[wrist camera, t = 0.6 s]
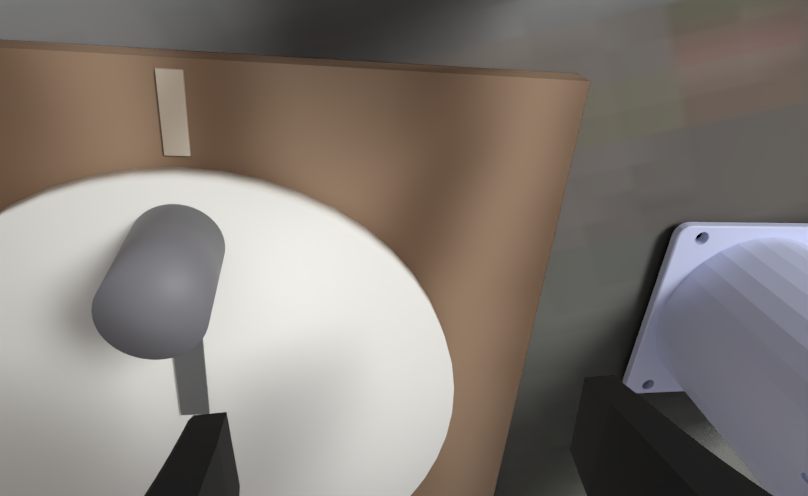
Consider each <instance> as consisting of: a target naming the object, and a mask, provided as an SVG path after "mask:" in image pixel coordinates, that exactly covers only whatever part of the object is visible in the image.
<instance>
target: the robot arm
mask: <svg viewBox="0 0 808 496" xmlns="http://www.w3.org/2000/svg"><path fill="white" fill-rule="evenodd" d="M700 233H702V235H701V236H700V237H699V238H698V239H695V238H696V237H697V235H699V234H700ZM647 380H648V381H647ZM644 382H645V383H644ZM677 391H685V392H686V394H687V395H688V396H689V397H690V398H691V400H692V401H693V402H694V403H695V405H696V406H697V407H698V408H699V409H700V411H701V412H702V413H703V414H704V416H705V417H706V418H707V419H708V420H709V422H710V423H711V424H712V425H713V427H714V428H715V429H716V430H717V431H718V433H719V434H720V435H721V436H722V438H723V439H724V440H725V441H726V442H727V444H728V445H729V446H730V447H731V449H732V450H733V451H734V452H735V453H736V455H737V456H738V457H739V458H740V460H741V461H742V462H743V463H744V464H745V466H746V467H747V468H748V469H749V471H750V472H751V473H752V474H753V475H754V477H755V478H756V479H757V480H758V482H759V483H760V484H761V485H762V486H763V488H764V489H765V490H766V491H765V490H764V489H762V488H761V487H759V486H758V485H756V484H755V483H753V482H752V481H751V480H749V479H748V478H746V477H745V476H743V475H742V474H741V473H739V472H738V471H736V470H735V469H733V468H732V467H731V466H729V465H728V464H726V463H725V462H724V461H722V460H721V459H720V458H718V457H717V456H715V455H714V454H713V453H711V452H710V451H709V450H707V449H706V448H705V447H703V446H702V445H701V444H699V443H698V442H697V441H696V440H694V439H693V438H692V437H690V436H689V435H688V434H686V433H685V432H684V431H683V430H681V429H680V428H679V427H678V426H676V425H675V424H674V423H672V422H671V421H670V420H669V419H667V418H666V417H665V416H664V415H662V414H661V413H660V412H659V411H657V410H656V409H655V408H654V407H652V406H651V405H650V404H649V403H647V402H646V401H645V400H644V399H643V398H641V397H640V396H639V395H638V394H636V393H654V392H677ZM570 449H571V452H572V455H573V458H574V461H575V464H576V466H577V469H578V472H579V475H580V478H581V480H582V483H583V485H584V488H585V491H586V493H587V496H808V223H732V222H686V223H682V224H681V225H679V226H678V227H677V228H676V229H675V230H674V232H673V234H672V236H671V239H670V242H669V245H668V248H667V251H666V254H665V257H664V260H663V263H662V266H661V269H660V272H659V275H658V277H657V280H656V283H655V286H654V289H653V292H652V295H651V298H650V301H649V304H648V307H647V310H646V313H645V316H644V319H643V322H642V325H641V328H640V330H639V333H638V336H637V339H636V342H635V345H634V348H633V351H632V354H631V357H630V360H629V363H628V366H627V369H626V372H625V375H624V378H623V382H621V381H620V380H618V379H617V378H616V377H615V376H613V375H610V376H599V377H589V378H585V380H584V385H583V390H582V394H581V399H580V404H579V409H578V414H577V419H576V424H575V428H574V433H573V438H572V443H571V448H570ZM239 492H240V484H239V478H238V473H237V467H236V462H235V456H234V450H233V445H232V439H231V434H230V428H229V423H228V417H227V412H222V413H212V414H201V415H193V416H192V417H191V418H190V419H189V420H188V422H187V424H186V426H185V428H184V430H183V431H182V433H181V435H180V437H179V439H178V440H177V442H176V444H175V446H174V448H173V449H172V451H171V453H170V455H169V456H168V458H167V460H166V461H165V463H164V465H163V466H162V468H161V470H160V471H159V473H158V475H157V476H156V478H155V480H154V481H153V483H152V484H151V486H150V487H149V489H148V490H147V492H146V494H145V495H144V496H239Z"/></svg>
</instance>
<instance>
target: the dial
mask: <svg viewBox="0 0 808 496" xmlns="http://www.w3.org/2000/svg"><path fill="white" fill-rule="evenodd" d="M453 396H454V382H453V370H452V362H451V358H450V354H449V351H448V347H447V343H446V339H445V336H444V333H443V330H442V328H441V325H440V322H439V319H438V317H437V315H436V313H435V311H434V308H433V306H432V304H431V302H430V299H429V297H428V295H427V294H426V292H425V291H424V289H423V288H422V286H421V285H420V283H419V282H418V280H417V279H416V277H415V276H414V274H413V273H412V271H411V270H410V269H409V268H408V267H407V266H406V265H405V264H404V262H403V261H402V260H401V259H400V258H399V257H398V256H397V255H396V254H395V252H394V251H393V250H392V249H391V248H390V247H389V246H387V245H386V244H385V243H384V242H383V241H381V240H380V239H379V238H378V237H377V236H375V235H374V234H373V233H372V232H371V231H369V230H368V229H367V228H366V227H364V226H363V225H361V224H360V223H358V222H357V221H355V220H353V219H352V218H350V217H349V216H347V215H345V214H344V213H342V212H341V211H339V210H338V209H336V208H334V207H332V206H330V205H328V204H326V203H324V202H321V201H319V200H317V199H315V198H313V197H311V196H309V195H307V194H304V193H302V192H300V191H297V190H294V189H291V188H288V187H285V186H282V185H279V184H276V183H273V182H270V181H267V180H264V179H260V178H255V177H250V176H245V175H240V174H235V173H230V172H225V171H219V170H207V169H196V168H184V167H163V168H134V169H127V170H121V171H114V172H108V173H101V174H95V175H90V176H86V177H83V178H79V179H76V180H72V181H69V182H65V183H62V184H58V185H55V186H51V187H49V188H47V189H44V190H42V191H40V192H37V193H35V194H33V195H31V196H28V197H26V198H24V199H21V200H19V201H17V202H15V203H13V204H11V205H9V206H8V207H6V208H5V209H3V210H1V211H0V496H144V495H145V494H146V492H147V490H148V489H149V487H150V486H151V484H152V483H153V481H154V480H155V478H156V476H157V475H158V473H159V471H160V470H161V468H162V466H163V465H164V463H165V461H166V460H167V458H168V456H169V455H170V453H171V451H172V449H173V448H174V446H175V444H176V442H177V440H178V439H179V437H180V435H181V433H182V431H183V430H184V428H185V426H186V424H187V422H188V420H189V419H190V418H191V417H192V416H193V415H201V414H212V413H222V412H227V417H228V423H229V428H230V434H231V439H232V445H233V450H234V456H235V462H236V467H237V473H238V478H239V484H240V492H239V496H411V495H412V493H413V492H414V491H415V490H416V488H417V487H418V486H419V485H420V484H421V482H422V481H423V480H424V478H425V477H426V475H427V474H428V472H429V470H430V469H431V467H432V465H433V464H434V462H435V460H436V459H437V457H438V454H439V452H440V450H441V447H442V445H443V443H444V440H445V438H446V435H447V431H448V427H449V423H450V419H451V415H452V408H453Z"/></svg>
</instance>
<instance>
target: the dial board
mask: <svg viewBox="0 0 808 496" xmlns="http://www.w3.org/2000/svg"><path fill="white" fill-rule="evenodd" d="M589 86H590V81H589V80H587V79H586V78H584V77H582V76H580V75H578V74H573V73H556V72H539V71H522V70H505V69H488V68H471V67H454V66H437V65H420V64H403V63H386V62H370V61H353V60H336V59H319V58H302V57H285V56H268V55H251V54H234V53H217V52H200V51H183V50H167V49H150V48H133V47H116V46H99V45H82V44H65V43H48V42H31V41H14V40H0V211H1V210H3V209H5V208H6V207H8V206H9V205H11V204H13V203H15V202H17V201H19V200H21V199H24V198H26V197H28V196H31V195H33V194H35V193H37V192H40V191H42V190H44V189H47V188H49V187H51V186H55V185H58V184H62V183H65V182H69V181H72V180H76V179H79V178H83V177H86V176H90V175H95V174H101V173H108V172H114V171H121V170H127V169H134V168H163V167H184V168H196V169H207V170H219V171H225V172H230V173H235V174H240V175H245V176H250V177H255V178H260V179H264V180H267V181H270V182H273V183H276V184H279V185H282V186H285V187H288V188H291V189H294V190H297V191H300V192H302V193H304V194H307V195H309V196H311V197H313V198H315V199H317V200H319V201H321V202H324V203H326V204H328V205H330V206H332V207H334V208H336V209H338V210H339V211H341V212H342V213H344V214H345V215H347V216H349V217H350V218H352V219H353V220H355V221H357V222H358V223H360V224H361V225H363V226H364V227H366V228H367V229H368V230H369V231H371V232H372V233H373V234H374V235H375V236H377V237H378V238H379V239H380V240H381V241H383V242H384V243H385V244H386V245H387V246H389V247H390V248H391V249H392V250H393V251H394V252H395V254H396V255H397V256H398V257H399V258H400V259H401V260H402V261H403V262H404V264H405V265H406V266H407V267H408V268H409V269H410V270H411V271H412V273H413V274H414V276H415V277H416V279H417V280H418V282H419V283H420V285H421V286H422V288H423V289H424V291H425V292H426V294H427V295H428V297H429V299H430V302H431V304H432V306H433V308H434V311H435V313H436V315H437V317H438V319H439V322H440V325H441V328H442V330H443V333H444V336H445V339H446V343H447V347H448V351H449V354H450V358H451V362H452V370H453V382H454V396H453V408H452V415H451V419H450V423H449V427H448V431H447V435H446V438H445V440H444V443H443V445H442V447H441V450H440V452H439V454H438V457H437V459H436V460H435V462H434V464H433V465H432V467H431V469H430V470H429V472H428V474H427V475H426V477H425V478H424V480H423V481H422V482H421V484H420V485H419V486H418V487H417V488H416V490H415V491H414V492H413V493H412V495H411V496H494V492H495V487H496V483H497V479H498V475H499V470H500V466H501V462H502V457H503V453H504V449H505V445H506V440H507V436H508V432H509V428H510V423H511V419H512V415H513V410H514V406H515V402H516V398H517V393H518V389H519V385H520V381H521V376H522V372H523V368H524V363H525V359H526V355H527V351H528V346H529V342H530V338H531V333H532V329H533V325H534V321H535V316H536V312H537V308H538V304H539V299H540V295H541V291H542V286H543V282H544V278H545V274H546V269H547V265H548V261H549V257H550V252H551V248H552V244H553V239H554V235H555V231H556V227H557V222H558V218H559V214H560V210H561V205H562V201H563V197H564V192H565V188H566V184H567V180H568V175H569V171H570V167H571V163H572V158H573V154H574V150H575V145H576V141H577V137H578V133H579V128H580V124H581V120H582V116H583V111H584V107H585V103H586V98H587V94H588V90H589Z"/></svg>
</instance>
